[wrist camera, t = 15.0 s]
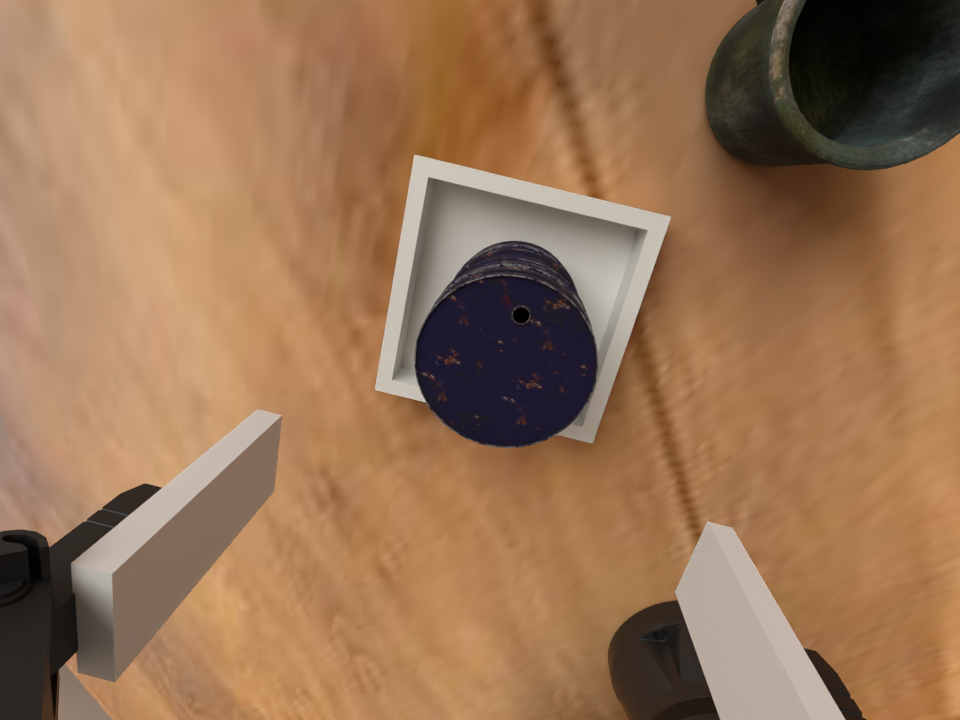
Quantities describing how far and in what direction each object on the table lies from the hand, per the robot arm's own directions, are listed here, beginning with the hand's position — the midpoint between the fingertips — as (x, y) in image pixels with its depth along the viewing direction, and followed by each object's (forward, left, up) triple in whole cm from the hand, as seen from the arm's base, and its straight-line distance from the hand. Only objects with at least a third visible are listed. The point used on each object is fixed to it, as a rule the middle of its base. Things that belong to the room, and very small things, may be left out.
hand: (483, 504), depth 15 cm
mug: (+20, -13, -28) cm, 37 cm away
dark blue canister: (0, 0, -27) cm, 27 cm away
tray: (0, 0, -28) cm, 28 cm away
